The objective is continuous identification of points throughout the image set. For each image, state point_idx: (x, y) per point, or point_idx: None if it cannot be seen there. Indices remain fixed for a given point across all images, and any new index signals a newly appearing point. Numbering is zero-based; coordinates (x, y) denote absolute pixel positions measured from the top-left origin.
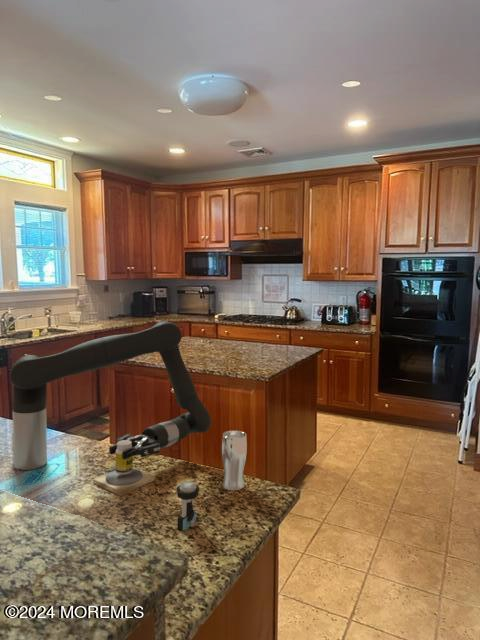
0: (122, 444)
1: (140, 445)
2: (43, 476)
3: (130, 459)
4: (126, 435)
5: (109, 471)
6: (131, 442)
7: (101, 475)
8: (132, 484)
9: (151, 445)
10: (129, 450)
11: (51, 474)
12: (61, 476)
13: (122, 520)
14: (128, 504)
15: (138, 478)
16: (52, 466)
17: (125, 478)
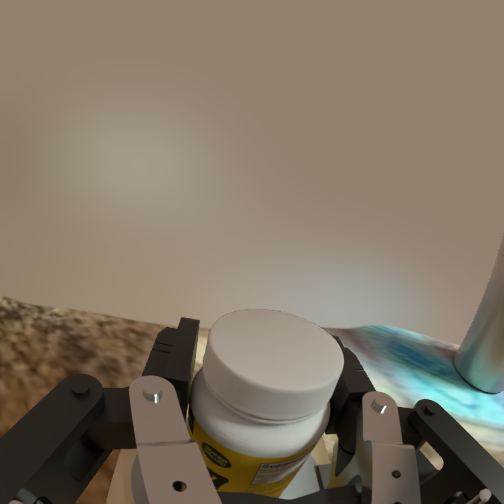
0: (249, 315)
1: (139, 435)
2: (417, 369)
3: (187, 429)
4: (497, 477)
5: (321, 465)
6: (227, 368)
7: (322, 442)
8: (135, 449)
9: (14, 461)
10: (173, 347)
11: (422, 382)
12: (403, 391)
13: (69, 321)
14: (86, 373)
15: (134, 485)
16: (464, 395)
17: None
